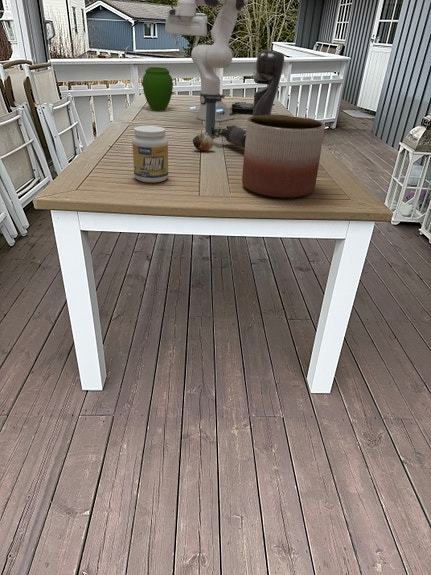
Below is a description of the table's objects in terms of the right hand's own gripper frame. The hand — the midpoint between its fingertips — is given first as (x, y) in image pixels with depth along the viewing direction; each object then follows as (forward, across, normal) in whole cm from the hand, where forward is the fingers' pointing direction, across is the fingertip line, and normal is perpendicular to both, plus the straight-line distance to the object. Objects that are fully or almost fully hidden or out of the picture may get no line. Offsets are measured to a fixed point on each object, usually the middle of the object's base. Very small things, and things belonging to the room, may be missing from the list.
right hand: (219, 128), depth 197 cm
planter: (-69, +14, +6) cm, 71 cm away
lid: (+10, 0, -12) cm, 15 cm away
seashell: (-14, +16, +6) cm, 22 cm away
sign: (+77, -63, +6) cm, 100 cm away
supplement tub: (-43, +52, +6) cm, 68 cm away
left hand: (+30, +4, -33) cm, 45 cm away
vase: (+90, -4, +6) cm, 90 cm away
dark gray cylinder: (+10, 0, +6) cm, 11 cm away
